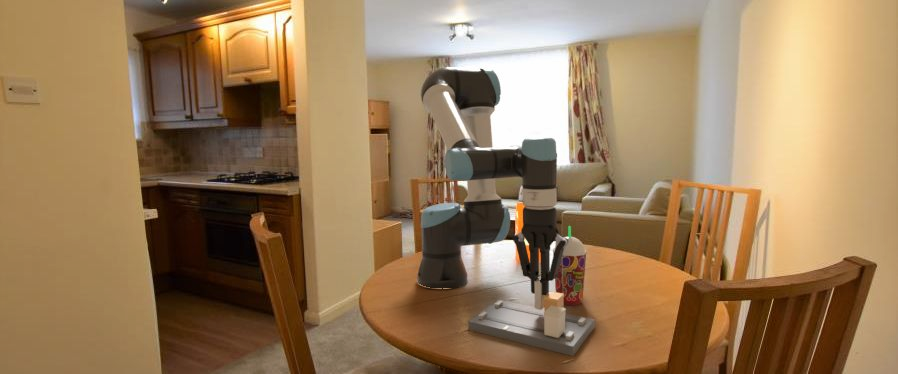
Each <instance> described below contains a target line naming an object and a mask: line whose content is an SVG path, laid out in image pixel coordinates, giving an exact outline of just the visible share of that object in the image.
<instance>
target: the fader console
mask: <svg viewBox="0 0 898 374" xmlns="http://www.w3.org/2000/svg"><path fill="white" fill-rule="evenodd" d="M544 311H545V308H543V309H541V310H538V309H535V306H531V305H525V304H521V303H517V302H511V301H507V300H503V299H502V300H501V299H498V300H497V301H495V302H494V303H492V304H491V305H489V306H488V307H487V308H485V309H484V310H482V311H481V312H479V313H478V314H476V315H475V316H474V317H472V318H471V319H469V320H468V330H469V331H472V332H477V333H481V334H485V335H488V336H493V337H496V338H500V339H505V340H508V341H511V342H515V343H518V344H519V343H521V344H523V345H528V346H531V347H535V348H538V349H539V348H540V349H542V350H547V351H551V352H555V353H559V354H563V355H566V356H571V357H574V355H576V353H577V352H578V350H579V348H580V347H582V345H583V344H584V343H585V341H586V340H587V338H588V337H589V336H590V334H591V333H592V332H593V331H594V329H595V326H596V325H595V324H596V323H595V321H596V320H595V318H590V317H585V316H581V315H576V314H570V313H566V312H565V331H564V332H563V334H562V335H561V336H560V337H559V338H556V337H552V336H548V335H544Z"/></svg>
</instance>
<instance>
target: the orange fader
mask: <svg viewBox="0 0 898 374" xmlns="http://www.w3.org/2000/svg"><path fill="white" fill-rule="evenodd" d="M551 305H552V306H557V307H562V308H565V307H564V306H565V305H564V294H563V293H557V292H556V291H549V293H548V294H547V295H546V296H545V297H544V309H545V311H546V310H547V309H548V308H549V307H550V306H551Z"/></svg>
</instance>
